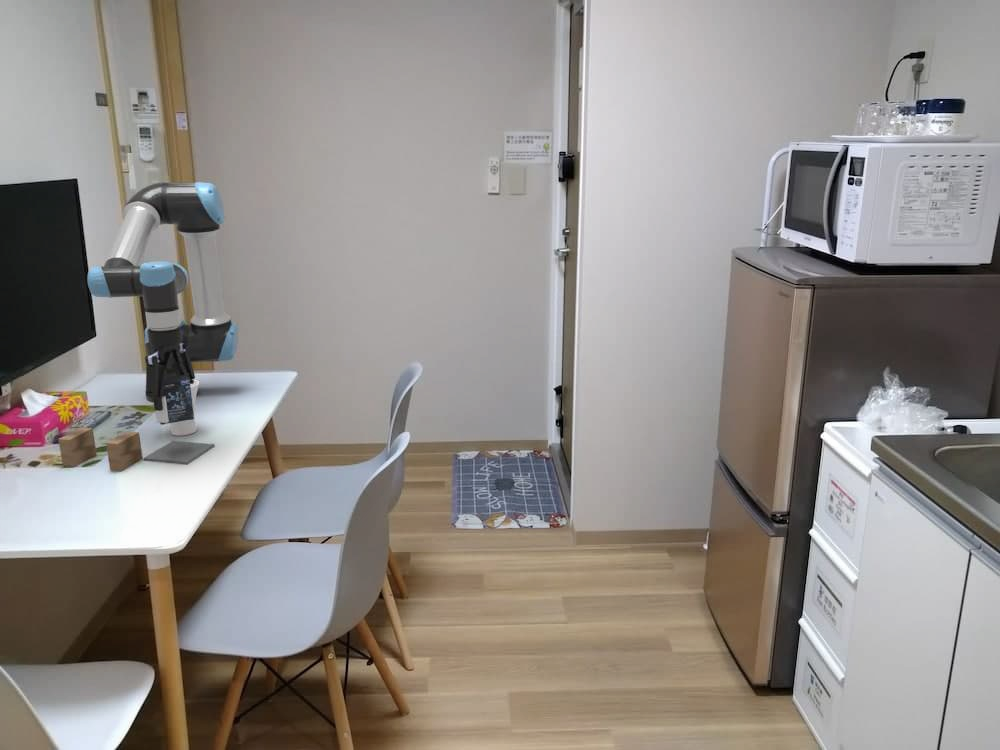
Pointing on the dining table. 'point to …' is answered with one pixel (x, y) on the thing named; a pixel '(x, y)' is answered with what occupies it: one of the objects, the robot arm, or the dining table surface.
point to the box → (178, 399)
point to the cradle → (83, 447)
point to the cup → (187, 425)
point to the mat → (179, 452)
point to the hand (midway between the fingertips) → (175, 415)
